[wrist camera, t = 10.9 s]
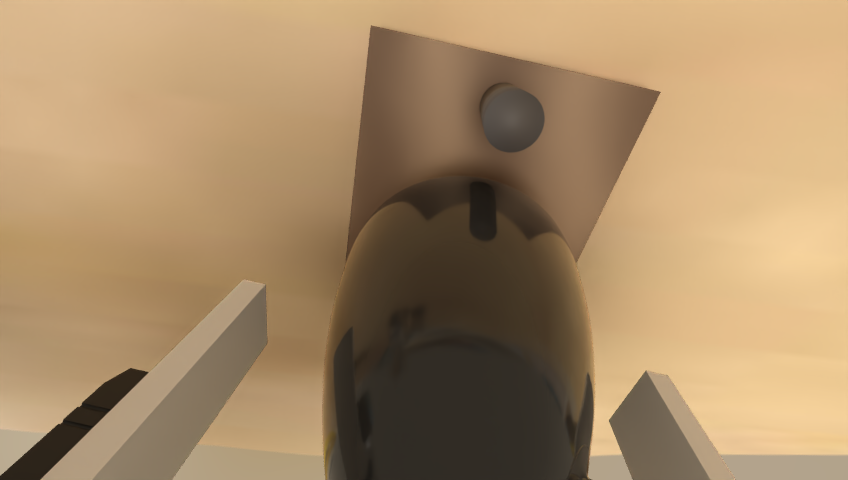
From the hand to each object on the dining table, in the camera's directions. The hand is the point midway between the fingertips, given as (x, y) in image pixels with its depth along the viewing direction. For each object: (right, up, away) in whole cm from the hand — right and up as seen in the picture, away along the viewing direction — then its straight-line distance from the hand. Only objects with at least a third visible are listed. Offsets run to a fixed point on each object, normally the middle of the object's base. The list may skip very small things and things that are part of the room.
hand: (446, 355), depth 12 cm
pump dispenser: (+1, +4, +8) cm, 9 cm away
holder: (+1, +4, +9) cm, 10 cm away
